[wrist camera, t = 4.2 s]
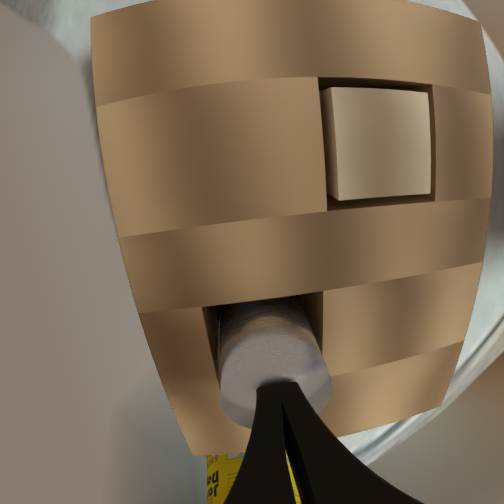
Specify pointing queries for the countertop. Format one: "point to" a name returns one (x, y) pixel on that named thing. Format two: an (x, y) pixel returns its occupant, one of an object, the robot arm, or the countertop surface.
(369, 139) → the peg maple
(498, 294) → the countertop surface
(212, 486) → the supplement bottle
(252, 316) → the peg steel
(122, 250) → the oak block
